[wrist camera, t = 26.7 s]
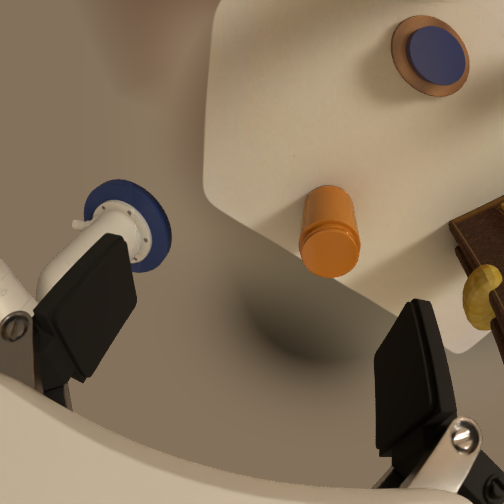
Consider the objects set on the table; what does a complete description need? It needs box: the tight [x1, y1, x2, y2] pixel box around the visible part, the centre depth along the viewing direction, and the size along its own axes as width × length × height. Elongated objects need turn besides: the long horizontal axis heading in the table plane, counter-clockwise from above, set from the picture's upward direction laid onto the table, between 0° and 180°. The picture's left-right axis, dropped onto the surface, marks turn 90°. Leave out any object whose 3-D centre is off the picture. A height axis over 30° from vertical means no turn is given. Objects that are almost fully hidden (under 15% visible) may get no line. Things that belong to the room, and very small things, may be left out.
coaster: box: [391, 15, 469, 97], centre depth 23 cm, size 10×10×1 cm
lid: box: [406, 26, 466, 85], centre depth 22 cm, size 7×7×2 cm
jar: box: [299, 186, 361, 278], centre depth 33 cm, size 6×6×10 cm
